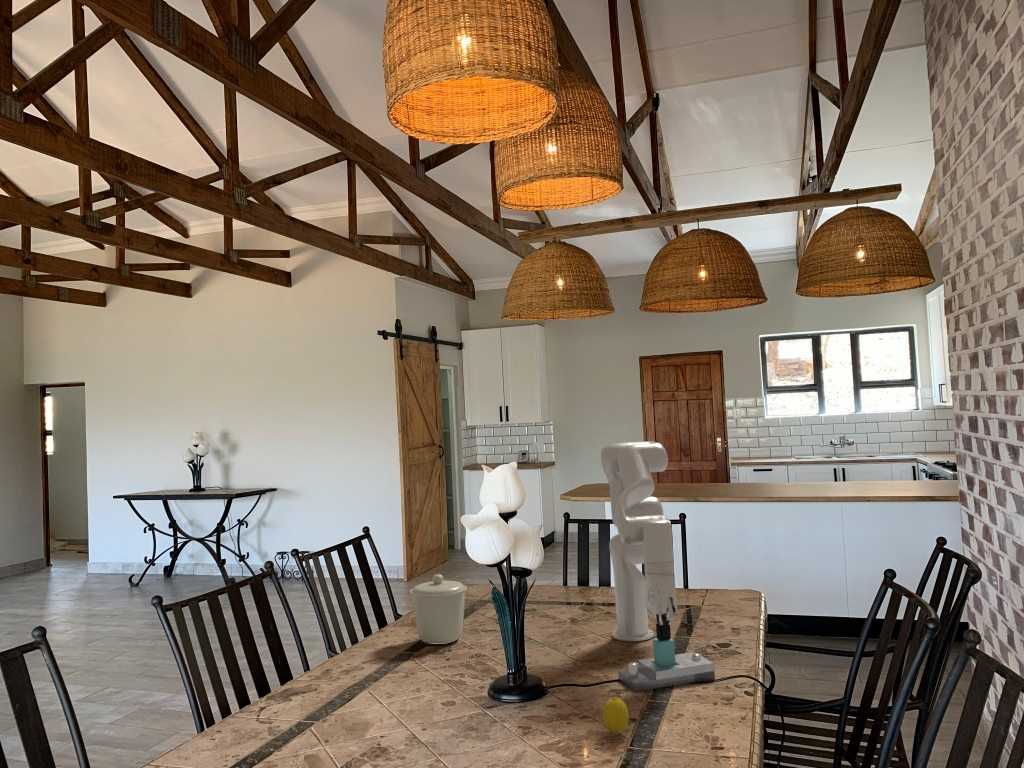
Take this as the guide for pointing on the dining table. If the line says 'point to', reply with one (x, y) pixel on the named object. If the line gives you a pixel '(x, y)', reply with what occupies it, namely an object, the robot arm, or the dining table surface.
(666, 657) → the pin
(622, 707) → the lemon
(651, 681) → the grey slotted base
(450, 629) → the canister
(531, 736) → the dining table surface
